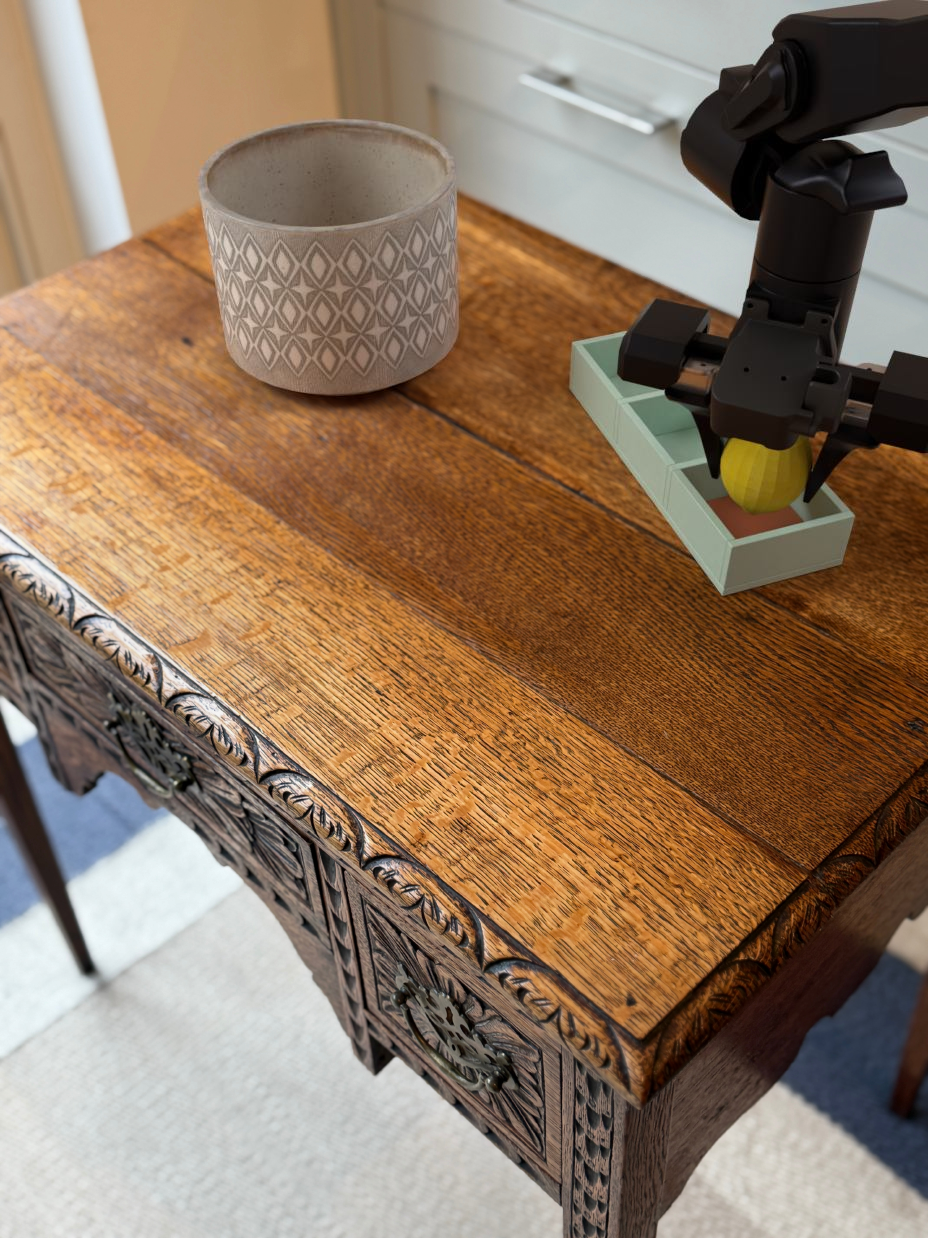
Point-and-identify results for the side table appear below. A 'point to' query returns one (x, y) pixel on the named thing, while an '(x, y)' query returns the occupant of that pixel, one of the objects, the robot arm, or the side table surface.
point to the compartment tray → (702, 482)
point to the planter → (334, 253)
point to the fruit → (765, 474)
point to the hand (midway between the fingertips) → (761, 487)
